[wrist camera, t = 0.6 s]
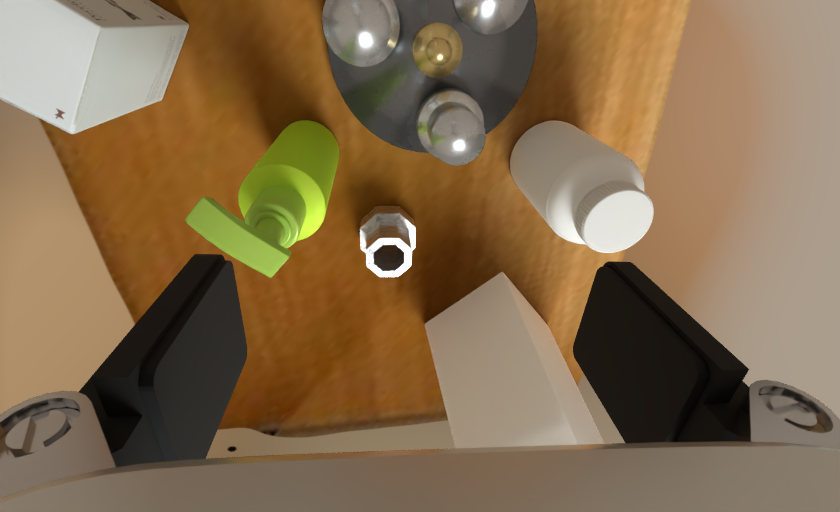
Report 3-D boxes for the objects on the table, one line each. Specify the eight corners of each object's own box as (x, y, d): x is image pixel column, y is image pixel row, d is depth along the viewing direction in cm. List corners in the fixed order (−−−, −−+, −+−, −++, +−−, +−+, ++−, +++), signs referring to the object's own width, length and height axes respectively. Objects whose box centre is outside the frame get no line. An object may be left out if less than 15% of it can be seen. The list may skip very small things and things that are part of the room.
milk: (502, 271, 49) (607, 485, 27) (547, 325, 54) (667, 542, 32) (424, 323, 52) (460, 555, 30) (474, 370, 57) (537, 596, 35)
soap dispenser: (292, 98, 37) (220, 171, 20) (351, 149, 40) (334, 250, 23) (255, 146, 39) (161, 250, 22) (315, 191, 42) (273, 314, 25)
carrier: (318, -92, 30) (304, -118, 24) (551, -75, 32) (592, -96, 26) (335, 148, 40) (327, 173, 33) (515, 151, 41) (539, 174, 35)
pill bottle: (514, 203, 45) (571, 280, 32) (501, 133, 40) (560, 188, 28) (586, 181, 44) (672, 250, 31) (580, 107, 40) (677, 152, 27)
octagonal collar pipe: (359, 205, 43) (357, 231, 38) (414, 205, 44) (419, 231, 38) (361, 253, 46) (360, 283, 41) (412, 252, 46) (417, 282, 41)
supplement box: (193, 24, 33) (106, 28, 23) (162, 102, 36) (72, 140, 25) (94, -41, 31) (-59, -70, 20) (69, 49, 34) (-77, 66, 23)
